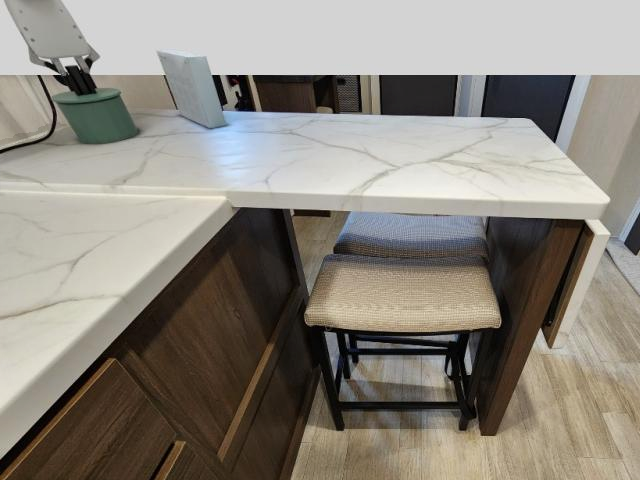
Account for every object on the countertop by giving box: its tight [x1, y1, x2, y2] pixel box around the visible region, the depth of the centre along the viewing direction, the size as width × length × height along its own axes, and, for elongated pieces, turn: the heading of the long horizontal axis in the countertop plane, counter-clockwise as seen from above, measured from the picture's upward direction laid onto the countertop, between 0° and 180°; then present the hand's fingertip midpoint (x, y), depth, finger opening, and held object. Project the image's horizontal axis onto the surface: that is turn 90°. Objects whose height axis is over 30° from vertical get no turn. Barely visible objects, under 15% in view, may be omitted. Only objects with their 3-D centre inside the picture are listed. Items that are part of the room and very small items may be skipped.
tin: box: [55, 94, 139, 145], centre depth 82 cm, size 13×13×8 cm
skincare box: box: [156, 49, 227, 129], centre depth 91 cm, size 21×6×16 cm, turn 47°
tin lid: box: [50, 64, 122, 104], centre depth 77 cm, size 14×14×7 cm
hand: (86, 93), depth 79 cm, fingers closed on tin lid, 2 cm apart
